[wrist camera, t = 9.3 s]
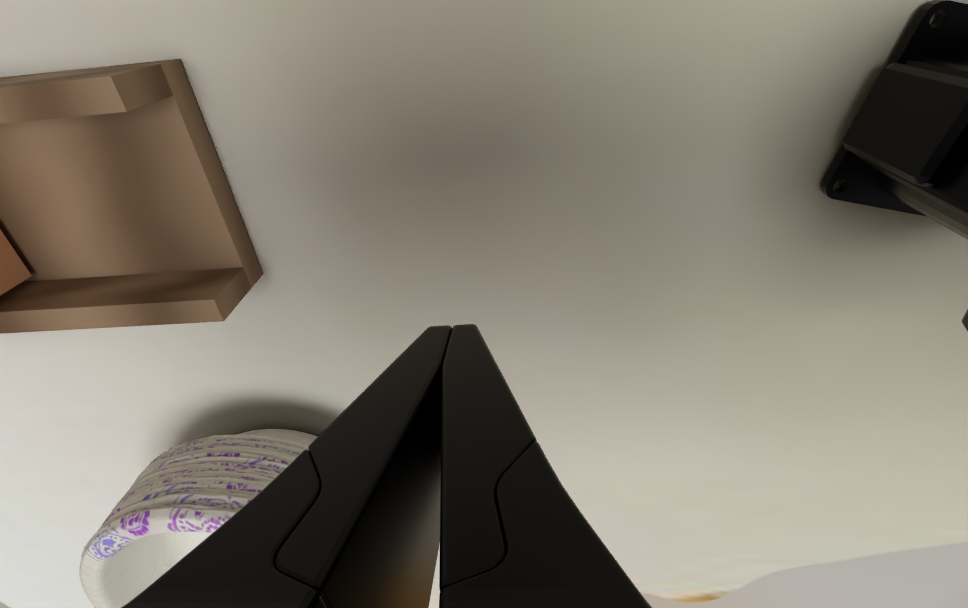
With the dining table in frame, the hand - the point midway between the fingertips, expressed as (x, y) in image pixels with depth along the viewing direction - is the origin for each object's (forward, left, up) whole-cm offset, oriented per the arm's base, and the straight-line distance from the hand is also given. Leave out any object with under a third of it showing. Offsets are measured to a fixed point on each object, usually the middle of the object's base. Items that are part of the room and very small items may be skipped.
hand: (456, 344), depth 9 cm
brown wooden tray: (+18, +5, -12) cm, 23 cm away
